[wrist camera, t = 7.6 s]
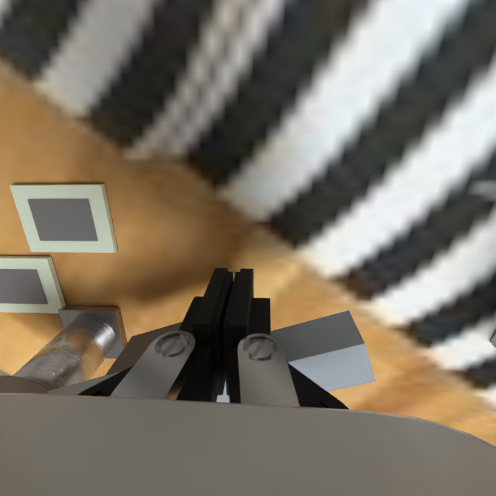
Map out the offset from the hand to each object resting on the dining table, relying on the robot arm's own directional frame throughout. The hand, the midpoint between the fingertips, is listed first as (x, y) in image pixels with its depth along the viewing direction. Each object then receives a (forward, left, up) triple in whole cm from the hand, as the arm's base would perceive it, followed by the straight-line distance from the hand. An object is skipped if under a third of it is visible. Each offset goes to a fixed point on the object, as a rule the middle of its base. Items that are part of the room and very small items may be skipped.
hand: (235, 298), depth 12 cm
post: (+7, -12, -6) cm, 15 cm away
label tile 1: (-2, -12, -6) cm, 14 cm away
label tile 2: (+3, -17, -6) cm, 18 cm away
